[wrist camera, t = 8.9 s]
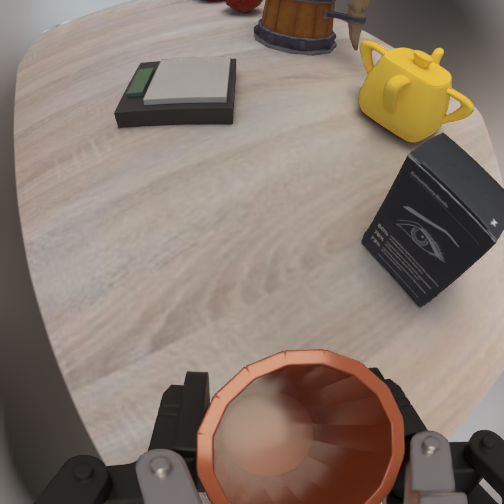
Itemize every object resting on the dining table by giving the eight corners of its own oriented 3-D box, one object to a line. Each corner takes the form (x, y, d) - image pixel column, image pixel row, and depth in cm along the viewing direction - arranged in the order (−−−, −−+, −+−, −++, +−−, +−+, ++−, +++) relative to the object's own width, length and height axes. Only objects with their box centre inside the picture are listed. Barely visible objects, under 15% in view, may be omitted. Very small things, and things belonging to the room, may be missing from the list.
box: (450, 274, 26) (522, 205, 16) (418, 311, 24) (501, 244, 14) (394, 212, 28) (445, 128, 19) (356, 241, 27) (408, 150, 17)
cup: (214, 481, 13) (198, 545, 5) (215, 384, 15) (198, 349, 8) (318, 477, 13) (403, 522, 5) (316, 383, 16) (397, 343, 8)
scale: (118, 127, 32) (112, 107, 30) (142, 75, 38) (139, 58, 36) (232, 124, 33) (232, 102, 30) (235, 72, 39) (236, 53, 36)
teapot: (343, 80, 40) (359, 19, 31) (421, 98, 40) (443, 44, 31) (363, 142, 33) (391, 66, 24) (453, 160, 33) (490, 100, 24)
